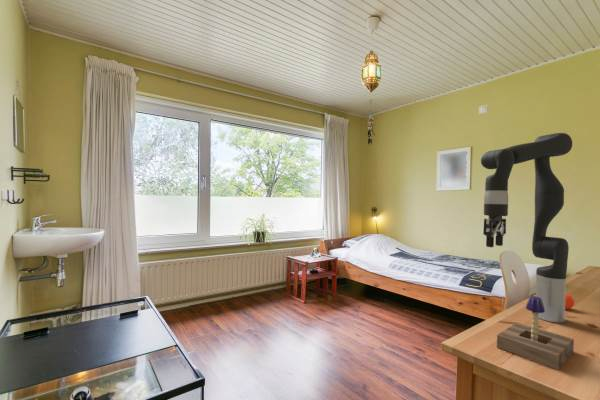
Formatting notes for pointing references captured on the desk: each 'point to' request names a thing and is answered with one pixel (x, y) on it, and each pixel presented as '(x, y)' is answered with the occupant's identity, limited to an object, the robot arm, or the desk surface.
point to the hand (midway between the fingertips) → (494, 246)
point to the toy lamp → (535, 314)
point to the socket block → (536, 345)
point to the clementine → (568, 301)
